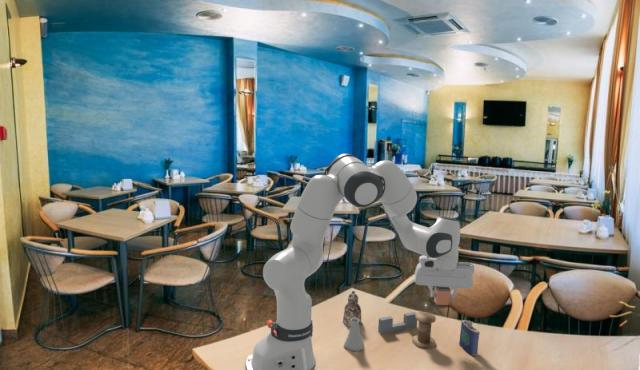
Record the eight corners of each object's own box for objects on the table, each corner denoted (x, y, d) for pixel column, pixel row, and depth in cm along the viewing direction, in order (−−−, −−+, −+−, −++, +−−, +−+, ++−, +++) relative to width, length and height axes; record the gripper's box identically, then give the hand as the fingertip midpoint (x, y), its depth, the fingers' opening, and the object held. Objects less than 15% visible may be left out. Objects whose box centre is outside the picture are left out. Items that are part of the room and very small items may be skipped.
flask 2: (478, 356, 142) (481, 327, 140) (471, 357, 141) (473, 328, 139) (463, 342, 150) (466, 314, 149) (456, 342, 150) (458, 315, 148)
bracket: (380, 334, 154) (381, 320, 154) (378, 331, 156) (378, 318, 155) (416, 327, 160) (417, 313, 159) (414, 325, 162) (415, 311, 161)
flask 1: (340, 348, 144) (341, 321, 143) (348, 338, 151) (349, 313, 149) (359, 354, 141) (360, 326, 140) (367, 344, 147) (368, 318, 146)
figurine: (341, 325, 161) (342, 295, 159) (344, 316, 167) (345, 288, 165) (359, 327, 159) (361, 298, 157) (362, 319, 166) (363, 290, 164)
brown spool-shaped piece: (420, 350, 144) (422, 323, 143) (408, 338, 152) (409, 313, 150) (439, 346, 147) (441, 319, 146) (426, 335, 155) (428, 309, 153)
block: (436, 304, 149) (437, 288, 148) (433, 300, 152) (435, 285, 151) (449, 304, 149) (450, 288, 148) (445, 300, 152) (447, 285, 151)
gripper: (472, 259, 150) (469, 296, 152) (415, 256, 152) (412, 291, 154) (477, 266, 144) (473, 303, 146) (417, 261, 146) (414, 298, 148)
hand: (441, 297), depth 150 cm, fingers closed on block, 5 cm apart
